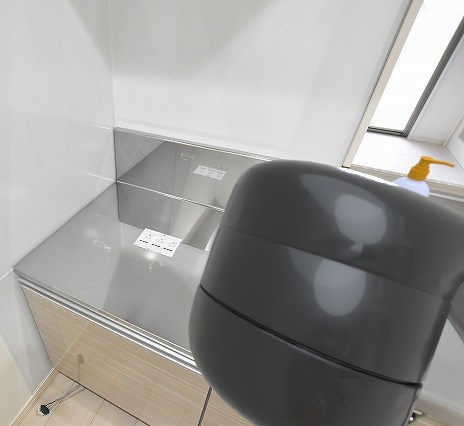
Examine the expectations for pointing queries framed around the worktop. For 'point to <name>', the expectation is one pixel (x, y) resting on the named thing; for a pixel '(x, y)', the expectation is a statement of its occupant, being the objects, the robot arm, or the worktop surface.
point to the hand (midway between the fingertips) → (446, 239)
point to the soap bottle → (419, 176)
